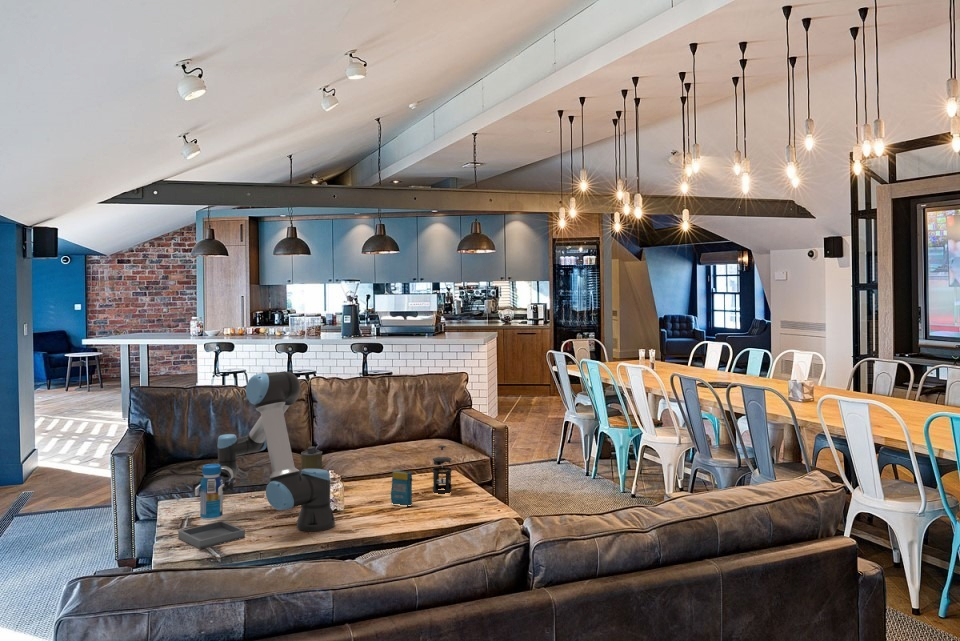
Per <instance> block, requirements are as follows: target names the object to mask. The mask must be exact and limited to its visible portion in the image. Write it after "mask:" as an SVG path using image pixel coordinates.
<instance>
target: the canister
mask: <svg viewBox="0 0 960 641" xmlns="http://www.w3.org/2000/svg"><path fill="white" fill-rule="evenodd" d="M306 449H307V450H304V451H301V453H300V454H301V455H300V456H301V458H300V459H301V460H300V461H301V468H300V469H301V470H302V469H323V451H321V450H319V449H317V447H316V446H308V447H307V448H306Z"/></svg>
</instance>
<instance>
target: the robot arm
mask: <svg viewBox="0 0 960 641" xmlns="http://www.w3.org/2000/svg"><path fill="white" fill-rule="evenodd" d="M247 381H248V382H247V384H246V388H245V394H246V395H245V396H246V399H247V401H249V403H250V404H252V405H254V408H255V410H256V411H257V412H259V413H260V416H259V418H258V419H257V421H256V422H255V424H254V425H253V427H252V428H251V430H250V431H249V432H248V434H247V435H246V436H240V437H237V435H236V434H234V433H228V434H221V435H219V436H218V438H217V445H216V446H217V464H219V465H221V473H220V474H219V475H220V477H221V478H222V481H223V484H222V485H221V486H220V487H219V488H218V495H221V494H222V493H223V494H224V492H227V491H228V490H229V491H233V489H234V487H235V486H234V485H236V481H237V480H236V477H237V476H238V473H239V469H240V468H239V465H238V464H237V463H238V461H237V460H238V459H237V458H238V456H242V455H246V454H252V453H259V452H261V451H264V450H266V448H267V452H268V456H269V461H270V467H271V474H270V476H269V483H268V484H266V489H265V496H266V500H267V502H268V504H270V507H272V508H274V510H277V511H284V510H291V509H293V508H296V507H300V510H299V514H298V517H297V520H296V529H297V530H300V531H302V532H320V531H321V532H322V531H327V530H329V529H332V528H334V527H335V525H336V520H335V516H334V513H333V511H332V508H331V475H330V472H329V471H328V470H327V469H323V468H322V469H301V470H299V469H298V468H296V466H295V462H294V457H293V453H292V447H291V443H290V439H289V433H288V428H287V425H286V424H287V423H286V418H285V413H286V411H287V410H288V409H289V407H291V406H293V405H294V404H296V402H297V400H298V399H299V396H300V394H301V389H302V388H301V387H302V386H301V383H300V379H299V378H298V376H296V375H295V373H292V372H290V371H286V370H283V371H273V372H262V373H257V374H253V376H252V375H251V377H250V378H249V380H247ZM201 480H202V478H200V479H199V480H198V481H196V482H194V483H192V491H194V496H195V497H198V496H200V488H201V485H200V483H201Z"/></svg>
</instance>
